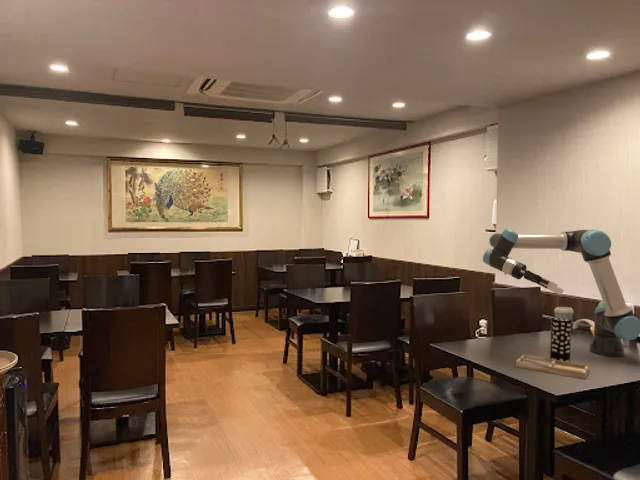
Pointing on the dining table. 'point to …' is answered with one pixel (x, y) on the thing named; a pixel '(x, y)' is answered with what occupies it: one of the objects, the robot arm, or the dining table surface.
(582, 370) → the tray
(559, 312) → the disposable coffee cup
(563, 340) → the spotted tube
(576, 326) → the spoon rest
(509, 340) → the dining table surface
